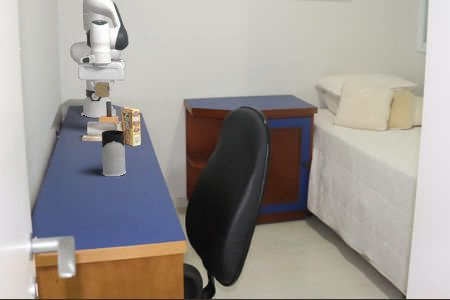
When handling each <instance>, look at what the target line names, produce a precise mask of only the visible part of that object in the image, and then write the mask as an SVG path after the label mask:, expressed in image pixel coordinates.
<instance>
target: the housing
mask: <svg viewBox="0 0 450 300" xmlns="http://www.w3.org/2000/svg"><path fill="white" fill-rule="evenodd" d="M95 84H96V97H108V96H109V97H110V91H108V86H110V82H109V81H108V82H97V83H95Z"/></svg>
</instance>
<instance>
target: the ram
mask: <svg viewBox="0 0 450 300" xmlns="http://www.w3.org/2000/svg"><path fill="white" fill-rule="evenodd" d="M111 102H112V100H111V101H107V102H106V113H107V116H101V117H99V118H98V122H116V129H117V124H118V123H119V122H120V120H119V116H118V115H116V116H112V107H111Z"/></svg>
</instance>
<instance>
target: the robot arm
mask: <svg viewBox="0 0 450 300" xmlns="http://www.w3.org/2000/svg"><path fill="white" fill-rule="evenodd" d="M82 1H83V2H82V21H83V23H82V24H83V27H82V28H83V29H84V31H85V35H86V41H78V42H74V43H73V44H72V45H71V46H70V48H69V54H70V57H71V59H72V60H73V61H74V63H77V64H78V65H79V66H78V70H77V71H78V74H77V75H78V76H77V77H78V79H79V80H80V81H85V85H86V89H85V96H86V97H85V98H84V99H83V111H82V112H81V113H80V116H83V115H85V116H84V117H86V116H87V117H88V118H93V119H94V118H98V119H99V118H100V117H101V116H107V113H106V102H107V101H111V107H112V116H117V110H116V108H114V106H112V105H113V104H112V99H111V97H110V96H108V97H96V84H95V83H97V82H109V81H110V82H109V86H108V91H109V92H111V91H112V90H113V86H114V83H115V81H124V80H125V79H126V71H125V70H126V61H124V60H123V59H121V55H122V53H121V51H123V50H125V49H126V48H128V46H129V44H130V43H129V42H130V41H129V40H130V39H129V34H128V31H127V29H126V27H125V24H124V23H123V19H122V16H121V13H120V11H119V8H118V5H117V3H115V2H114V1H112V0H82ZM106 18H108V19H110V20H111V22H112V25H113V27H110V25H109V24H110V23H109V22H108V21H107V20H106Z"/></svg>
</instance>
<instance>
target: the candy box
mask: <svg viewBox="0 0 450 300" xmlns="http://www.w3.org/2000/svg"><path fill="white" fill-rule="evenodd" d="M140 114H141V112H140V109H138V108H134V107H130V106H127V107H120V119H121V120H120V122H121V125H122V131H123V132H124V144H126V145H129V146H132V147H136V146H141V145H142V144H141V143H142V142H141V141H142V139H141V138H142V137H141V117H140V116H141V115H140Z"/></svg>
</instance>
